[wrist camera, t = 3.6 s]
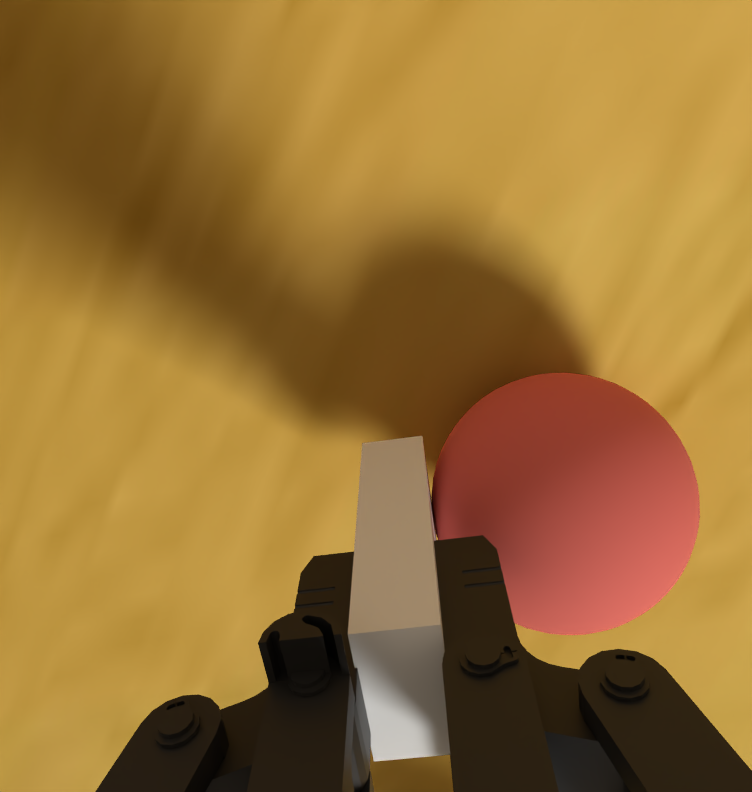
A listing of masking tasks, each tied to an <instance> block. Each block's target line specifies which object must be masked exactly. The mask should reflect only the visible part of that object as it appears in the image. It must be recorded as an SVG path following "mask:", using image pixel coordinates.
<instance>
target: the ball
mask: <svg viewBox="0 0 752 792" xmlns="http://www.w3.org/2000/svg"><path fill="white" fill-rule="evenodd" d="M432 512H433V519H434V525H435V530H436V535H437V537H438V540H445V539H453V538H462V537H471V536H480V535H483V536H484V537H485V538H486V539H487V540H488V541H489V542H490V543H491V544H492V545H493V546H494V547H495V548H496V549H497V552H498V556H499V560H500V564H501V570H502V573H503V577H504V582H505V586H506V590H507V594H508V598H509V603H510V607H511V611H512V615H513V620H514V623H516V624H518V625H521V626H523V627H525V628H529V629H533V630H537V631H541V632H545V633H549V634H559V635H583V634H590V633H596V632H601V631H605V630H609V629H612V628H615V627H618V626H620V625H623V624H625V623H627V622H629V621H631V620H633V619H635V618H636V617H638V616H640V615H642V614H643V613H645V612H646V611H648V610H649V609H650V608H652V607H653V606H654V605H655V604H657V603H658V602H659V601H660V600H661V599H662V598H663V597H664V596H665V595H666V594H667V593H668V592H669V591H670V589H671V588H672V587H673V586H674V585H675V583H676V582H677V580H678V579H679V577H680V576H681V574H682V572H683V571H684V569H685V567H686V565H687V563H688V561H689V559H690V556H691V553H692V550H693V547H694V544H695V541H696V537H697V532H698V527H699V518H700V509H699V491H698V484H697V480H696V477H695V473H694V470H693V466H692V463H691V460H690V458H689V456H688V454H687V452H686V450H685V448H684V446H683V444H682V442H681V440H680V439H679V437H678V436H677V434H676V433H675V431H674V430H673V429H672V427H671V426H670V425H669V424H668V422H667V421H666V420H665V419H664V418H663V417H662V416H661V415H660V414H659V413H658V412H657V411H656V410H655V409H654V408H653V407H652V406H650V405H649V404H648V403H647V402H646V401H644V400H643V399H641V398H640V397H639V396H637V395H636V394H634V393H632V392H630V391H629V390H627V389H625V388H623V387H621V386H619V385H617V384H615V383H612V382H609V381H606V380H603V379H600V378H596V377H593V376H589V375H582V374H573V373H547V374H539V375H533V376H528V377H525V378H522V379H519V380H516V381H513V382H510V383H508V384H506V385H504V386H502V387H499V388H497V389H496V390H494V391H492V392H491V393H489V394H488V395H486V396H484V397H483V398H482V399H481V400H479V401H478V402H477V403H476V404H474V405H473V406H472V407H471V408H470V409H469V410H468V411H467V412H466V413H465V414H464V415H463V417H462V418H461V419H460V420H459V422H458V423H457V424H456V425H455V427H454V428H453V430H452V431H451V433H450V435H449V436H448V438H447V440H446V442H445V444H444V446H443V448H442V450H441V452H440V455H439V458H438V461H437V464H436V468H435V472H434V477H433V487H432Z"/></svg>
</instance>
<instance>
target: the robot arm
mask: <svg viewBox="0 0 752 792" xmlns="http://www.w3.org/2000/svg"><path fill="white" fill-rule="evenodd" d="M258 645H259V648H260V652H261V656H262V659H263V663H264V667H265V671H266V674H267V678H268V682H269V685H268V688H266V689H265V690H263V691H262V692H261V693H259V694H258V695H256V696H254V697H252V698H250V699H247V700H245V701H243V702H240V703H237V704H235V705H232V706H229V707H226V708H224V709H221V710H220V709H219V706H218V705H217V704H216V703H215V702H214V701H213V700H212V699H211V698H208V697H204V696H201V695H185V696H181V697H178V698H175V699H172V700H169V701H167V702H165V703H164V704H162V705H161V706H159V707H158V708H156V709H155V710H153V711H152V712H151V713H150V714H149V715H148V716H147V717H146V718H145V720H144V721H143V722H142V723H141V724H140V726H139V727H138V729H137V730H136V732H135V733H134V735H133V736H132V738H131V739H130V741H129V742H128V744H127V745H126V747H125V748H124V750H123V751H122V753H121V754H120V756H119V757H118V759H117V760H116V762H115V763H114V765H113V766H112V768H111V769H110V771H109V772H108V774H107V775H106V777H105V778H104V780H103V781H102V783H101V784H100V786H99V787H98V789H97V790H96V792H374V787H373V782H372V777H371V772H370V746H371V750H372V755H373V759H374V762H375V761H386V760H397V759H407V758H418V757H429V756H440V755H450V757H451V768H452V779H453V790H454V792H752V771H751V770H750V768H749V767H748V766H747V765H746V764H745V762H744V761H743V760H742V759H741V758H740V757H739V755H738V754H737V753H736V752H735V751H734V749H733V748H732V747H731V746H730V745H729V744H728V742H727V741H726V740H725V739H724V738H723V736H722V735H721V734H720V733H719V732H718V730H717V729H716V728H715V727H714V726H713V725H712V723H711V722H710V721H709V720H708V719H707V717H706V716H705V715H704V714H703V713H702V712H701V710H700V709H699V708H698V707H697V706H696V704H695V703H694V702H693V701H692V700H691V699H690V697H689V696H688V695H687V694H686V693H685V691H684V690H683V689H682V688H681V687H680V686H679V684H678V683H677V682H676V681H675V680H674V678H673V677H672V676H671V675H670V674H669V673H668V671H667V670H666V669H665V668H664V667H662V666H661V665H660V664H659V663H658V662H656V661H655V660H654V659H653V658H651V657H648V656H646V655H643V654H641V653H639V652H636V651H629V650H622V649H615V650H608V651H601V652H599V653H597V654H595V655H593V656H591V657H589V658H588V659H587V660H586V661H585V663H584V664H583V665H582V666H581V668H580V670H578V669H572V668H565V667H560V666H556V665H552V664H548V663H546V662H543V661H541V660H539V659H537V658H535V657H534V656H533V655H531V654H530V653H529V652H527V651H526V649H525V648H524V647H523V646H522V645H521V643H520V641H519V638H518V636H517V632H516V628H515V624H514V620H513V615H512V611H511V607H510V603H509V598H508V594H507V590H506V586H505V582H504V577H503V573H502V570H501V564H500V560H499V556H498V552H497V549H496V548H495V547H494V546H493V545H492V544H491V543H490V542H489V541H488V540H487V539H486V538H485V537H484V536H483V535H480V536H471V537H462V538H453V539H445V540H436V531H435V525H434V519H433V512H432V502H431V495H430V488H429V480H428V473H427V466H426V458H425V451H424V444H423V437H422V436H416V437H408V438H400V439H392V440H384V441H376V442H368V443H362V454H361V467H360V480H359V494H358V507H357V520H356V533H355V546H354V552H347V553H338V554H329V555H321V556H314V557H313V558H312V559H311V561H310V562H309V563H308V564H307V566H306V567H305V568H304V570H303V571H302V572H301V575H300V581H299V586H298V594H297V597H296V603H295V609H294V613H291V614H288V615H286V616H284V617H282V618H280V619H278V620H276V621H274V622H273V623H272V624H271V625H270V626H269V627H268V628H267V629H266V630H265V631H264V632H263V634H262V636H261V638H260V640H259V642H258Z"/></svg>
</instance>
